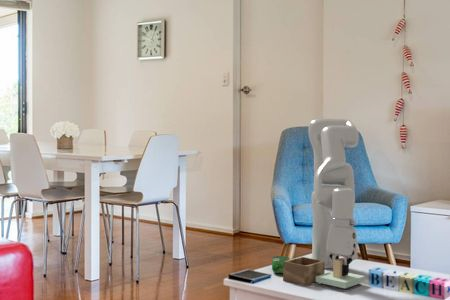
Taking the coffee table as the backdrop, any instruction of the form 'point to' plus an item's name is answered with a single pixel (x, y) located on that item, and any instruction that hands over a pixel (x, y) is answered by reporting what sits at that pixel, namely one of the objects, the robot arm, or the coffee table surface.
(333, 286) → the mat
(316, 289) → the coffee table surface
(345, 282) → the lid
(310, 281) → the box
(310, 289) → the coffee table surface
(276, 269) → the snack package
